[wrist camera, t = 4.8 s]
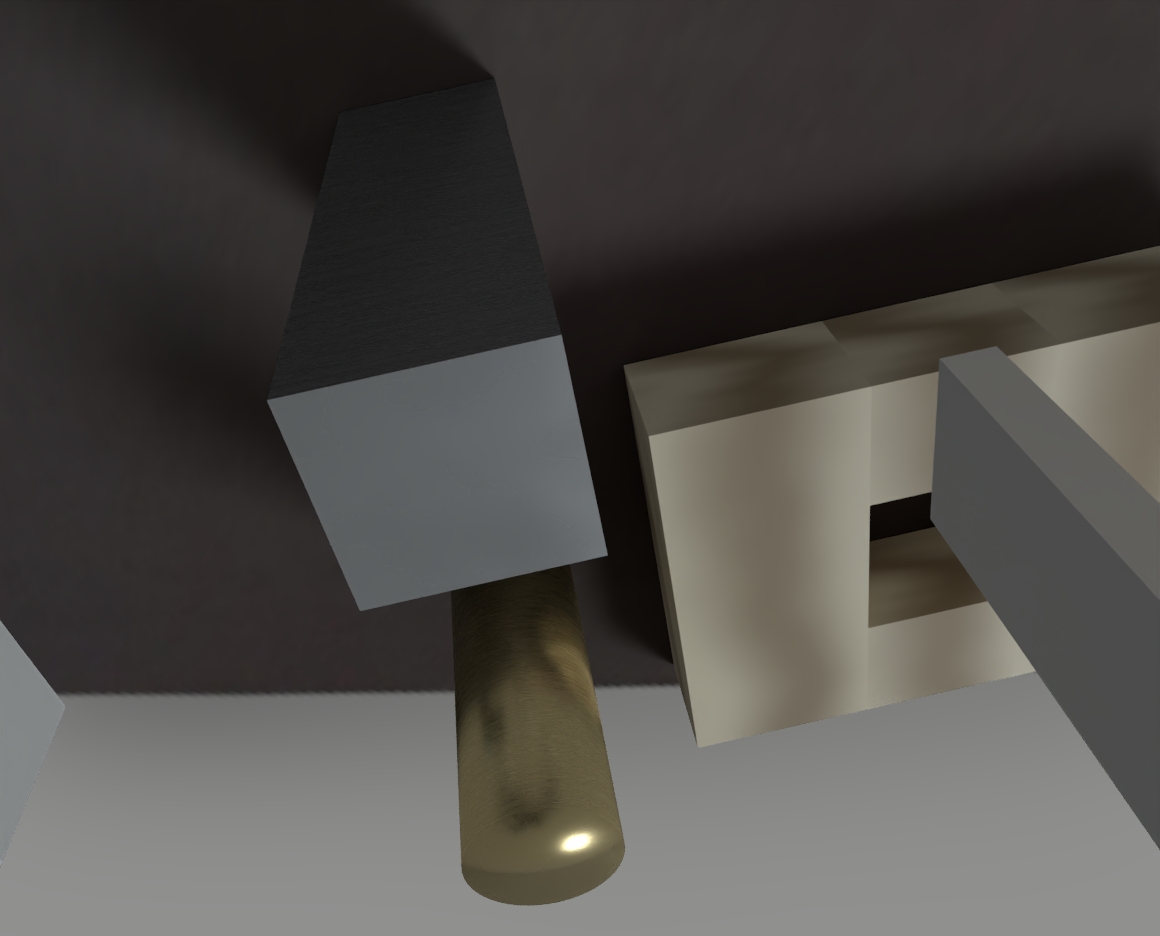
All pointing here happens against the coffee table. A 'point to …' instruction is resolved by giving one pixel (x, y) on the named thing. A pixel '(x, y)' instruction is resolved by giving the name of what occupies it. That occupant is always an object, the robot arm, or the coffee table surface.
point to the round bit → (530, 744)
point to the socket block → (861, 489)
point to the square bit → (431, 360)
